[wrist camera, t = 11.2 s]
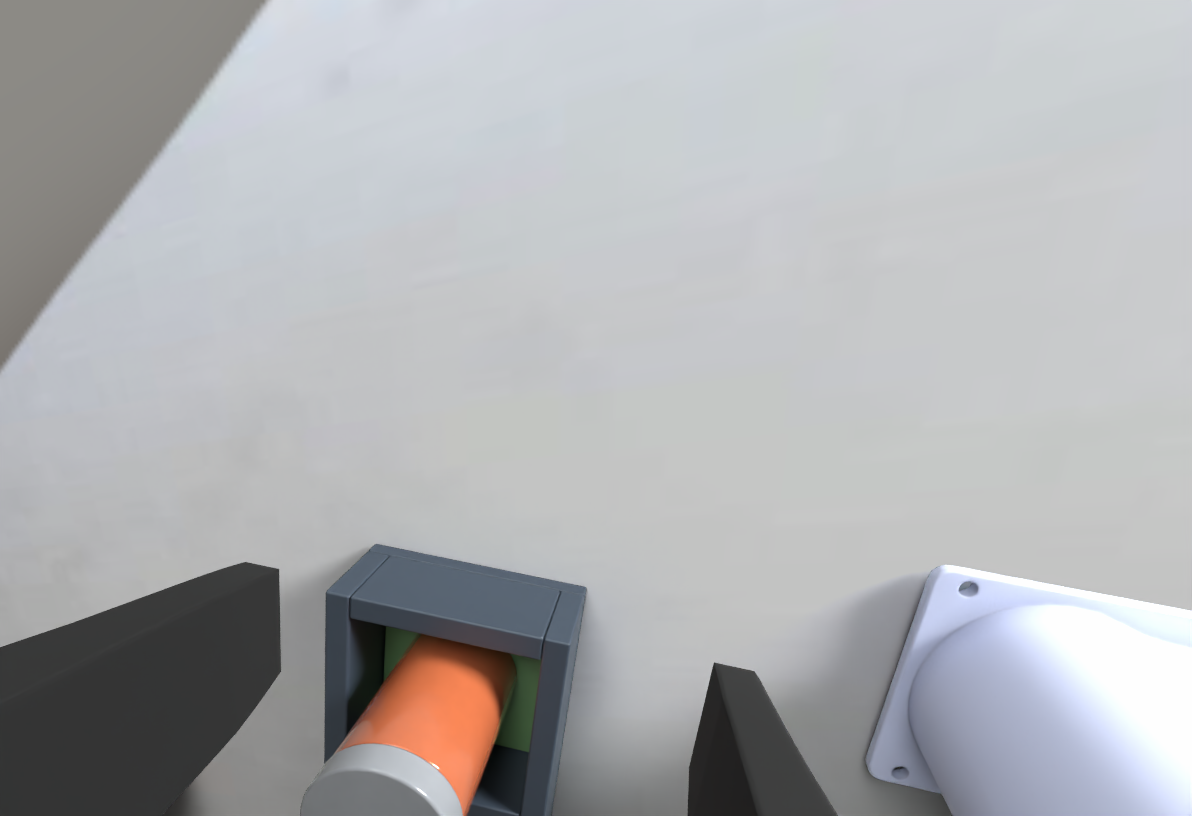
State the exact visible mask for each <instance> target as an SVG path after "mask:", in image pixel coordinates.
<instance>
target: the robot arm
mask: <svg viewBox="0 0 1192 816" xmlns="http://www.w3.org/2000/svg"><path fill="white" fill-rule="evenodd" d="M965 582H971V585H970V586H969V588H967V589H964V590H959V587H960V585H961V584H963V583H965ZM280 672H281V651H280V595H279V569H276V568H271V567H266V566H262V565H257V564H252V563H248V562H244V563H240V564H237V565H233V566H230V567H227V568H224V569H220V570H217V571H215V572H212V573H209V574H206V575H203V576H200V577H197V578H194V579H192V580H189V581H186V582H183V583H180V584H178V585H175V586H172V587H169V588H167V589H164V590H161V591H159V592H156V593H153V594H150V595H148V596H145V597H142V598H140V599H137V600H134V601H131V602H129V603H126V604H123V605H120V606H118V607H115V608H112V609H109V610H107V611H104V612H101V613H98V614H96V615H93V616H90V617H88V618H85V619H82V620H79V621H76V622H74V623H71V624H68V625H65V626H62V627H59V628H56V629H53V630H50V631H47V632H44V633H41V634H38V635H35V636H32V637H29V638H27V639H24V640H21V641H18V642H15V643H12V644H9V645H6V646H3V647H0V816H161V815H162V814H163V813H164V812H165V811H166V810H167V809H168V808H169V807H170V806H171V805H172V803H173V802H174V801H175V800H176V799H177V798H178V797H179V796H180V795H181V794H182V793H183V791H184V790H185V789H186V788H187V787H188V786H189V785H190V784H191V783H192V782H193V781H194V779H195V778H196V777H197V776H198V775H199V774H200V773H201V772H202V771H203V769H204V768H205V767H206V766H207V765H208V764H209V763H210V762H211V761H212V760H213V758H214V757H215V756H216V755H217V754H218V753H219V752H220V751H221V750H222V748H223V747H224V746H225V745H226V744H227V743H228V742H229V740H230V739H231V738H232V737H233V736H234V735H235V734H236V733H237V731H238V730H239V729H240V727H241V726H242V725H243V723H244V722H245V721H246V719H247V718H248V717H249V715H250V714H251V713H252V711H253V710H254V709H255V707H256V706H257V705H258V703H259V702H260V701H261V699H262V698H263V696H264V695H265V693H266V692H267V691H268V689H269V688H270V686H271V685H272V683H273V682H274V681H275V679H276V678H277V676H278V675H279V673H280ZM866 764H867V767H868V770H869V772H870V774H871V775H872V776H873V777H874V778H877V779H879V780H883V781H887V782H891V783H896V784H900V785H904V786H909V787H913V788H918V789H922V790H926V791H931V792H935V793H939V794H942V795H943V797H944V799H945V801H946V803H947V805H948V807H949V810H950V812H951V814H952V816H1192V611H1189V610H1184V609H1179V608H1173V607H1168V606H1163V605H1158V604H1152V603H1147V602H1142V601H1137V600H1131V599H1126V598H1121V597H1116V596H1110V595H1105V594H1100V593H1094V592H1089V591H1084V590H1079V589H1073V588H1068V587H1063V586H1058V585H1052V584H1047V583H1042V582H1037V581H1031V580H1026V579H1021V578H1016V577H1010V576H1005V575H1000V574H995V573H989V572H984V571H979V570H973V569H968V568H963V567H958V566H952V565H942V566H939V567H936V568H935V569H934V570H932V571H931V573H930V574H929V576H928V579H927V581H926V584H925V587H924V590H923V593H922V596H921V599H920V602H919V605H918V608H917V610H916V613H915V616H914V619H913V622H912V625H911V628H910V631H909V634H908V637H907V640H906V642H905V645H904V648H903V651H902V654H901V657H900V660H899V663H898V666H897V669H896V671H895V674H894V677H893V680H892V683H891V686H890V689H889V692H888V695H887V698H886V701H885V703H884V706H883V709H882V712H881V715H880V718H879V721H878V724H877V727H876V730H875V732H874V735H873V738H872V741H871V744H870V747H869V750H868V753H867V756H866ZM896 767H902V768H900V769H894V768H896ZM688 816H838V815H837V813H836V812H835V810H834V808H833V807H832V805H831V804H830V802H829V800H828V799H827V797H826V795H825V794H824V792H823V790H822V789H821V787H820V786H819V784H818V782H817V781H816V779H815V777H814V776H813V774H812V772H811V771H810V769H809V767H808V766H807V764H806V762H805V761H804V759H803V757H802V755H801V754H800V752H799V750H798V748H797V747H796V745H795V743H794V741H793V740H792V738H791V736H790V734H789V732H788V731H787V729H786V727H785V725H784V724H783V722H782V720H781V718H780V716H779V714H778V713H777V711H776V709H775V707H774V705H773V703H772V702H771V700H770V698H769V696H768V694H767V692H766V690H765V688H764V687H763V685H762V683H761V681H760V679H759V678H758V676H757V675H756V673H755V672H754V671H751V670H746V669H741V668H737V667H732V666H727V665H723V664H718V663H714V665H713V669H712V673H711V677H710V682H709V686H708V690H707V694H706V699H705V703H704V707H703V711H702V716H701V720H700V724H699V728H698V732H697V737H696V741H695V745H694V749H693V754H692V758H691V762H690V766H689V791H688Z"/></svg>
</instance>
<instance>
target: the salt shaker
mask: <svg viewBox="0 0 1192 816" xmlns="http://www.w3.org/2000/svg"><path fill="white" fill-rule="evenodd" d="M516 683H517V673H516V667H515V663H514V660H513V658H512V656H511V654H510V653H505V652H501V651H496V650H492V649H487V648H482V647H478V646H473V645H469V644H464V643H460V642H455V641H451V640H446V639H442V638H437V637H433V636H428V635H424V634H419V633H418V634H417V635H416V636H415V638H414V639H413V641H412V642H411V643H410V645H409V646H408V648H407V649H406V651H405V652H404V654H403V655H402V656H401V658H400V659H399V661H398V662H397V664H396V665H395V667H394V668H393V669H392V671H391V672H390V674H389V675H388V677H387V678H386V679H385V681H384V682H383V684H382V685H381V687H380V688H379V690H378V691H377V692H376V694H375V695H374V697H373V698H372V700H371V701H370V703H369V704H368V705H367V707H366V708H365V710H364V711H363V713H362V714H361V716H360V717H359V718H358V720H357V721H356V723H355V724H354V726H353V727H352V728H351V730H350V731H349V733H348V734H347V736H346V737H345V739H344V740H343V741H342V743H341V744H340V746H339V747H338V749H337V750H336V752H335V753H334V754H333V756H332V757H331V758H330V759H329V760H328V761H327V762H326V763H325V764H324V766H323V767H322V768H321V770H320V771H319V773H318V774H317V776H316V777H315V778H314V780H313V781H312V783H311V784H310V786H309V787H308V788H307V790H306V792H305V794H304V796H303V800H302V804H301V809H300V816H467V815H468V812H469V809H470V807H471V804H472V801H473V799H474V796H475V794H476V791H477V788H478V786H479V783H480V780H481V778H482V775H483V772H484V770H485V767H486V765H487V762H488V759H489V757H490V754H491V751H492V749H493V746H494V743H495V741H496V738H497V736H498V733H499V730H500V728H501V725H502V722H503V720H504V717H505V714H506V712H507V709H508V707H509V704H510V701H511V699H512V696H513V693H514V691H515V688H516Z"/></svg>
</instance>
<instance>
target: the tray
mask: <svg viewBox="0 0 1192 816" xmlns="http://www.w3.org/2000/svg"><path fill="white" fill-rule="evenodd" d="M585 595H586V587H583V586H578V585H573V584H568V583H563V582H558V581H554V580H549V579H544V578H539V577H534V576H529V575H524V574H520V573H515V572H510V571H505V570H500V569H495V568H490V567H486V566H481V565H476V564H471V563H466V562H461V561H457V560H452V559H447V558H442V557H437V556H432V555H427V554H423V553H418V552H413V551H408V550H403V549H398V548H394V547H389V546H384V545H379V544H375V545H374V546H373V547H372V548H371V549H370V550H369V552H367V553H366V554H365V555H364V556H363V557H362V558H361V559H360V560H359V561H358V562H357V563H355V564H354V565H353V566H352V567H351V568H350V569H349V570H348V571H347V572H346V573H345V574H344V575H343V576H342V577H341V578H340V579H339V580H338V581H336V582H335V583H334V584H333V585H332V586H331V587H330V588H329V589H328V590H327V592H326V628H325V753H324V764H325V763H326V762H327V761H328V760H329V759H330V758H331V757H332V756H333V754H334V753H335V752H336V750H337V749H338V747H339V746H340V744H341V743H342V741H343V740H344V739H345V737H346V736H347V734H348V733H349V731H350V730H351V728H352V727H353V726H354V724H355V723H356V721H357V720H358V718H359V717H360V716H361V714H362V713H363V711H364V710H365V708H366V707H367V705H368V704H369V703H370V701H371V700H372V698H373V697H374V695H375V694H376V692H377V691H378V690H379V688H380V687H381V685H382V684H383V682H384V681H385V679H386V678H387V677H388V675H389V674H390V672H391V671H392V669H393V668H394V667H395V665H396V664H397V662H398V661H399V659H400V658H401V656H402V655H403V654H404V652H405V651H406V649H407V648H408V646H409V645H410V643H411V642H412V641H413V639H414V638H415V636H416V635H417V634H418V633H419V634H424V635H428V636H433V637H437V638H442V639H446V640H451V641H455V642H460V643H464V644H469V645H473V646H478V647H482V648H487V649H492V650H496V651H501V652H505V653H510V654H511V656H512V658H513V660H514V663H515V667H516V673H517V683H516V688H515V691H514V693H513V696H512V699H511V701H510V704H509V707H508V709H507V712H506V714H505V717H504V720H503V722H502V725H501V728H500V730H499V733H498V736H497V738H496V741H495V743H494V746H493V749H492V751H491V754H490V757H489V759H488V762H487V765H486V767H485V770H484V772H483V775H482V778H481V780H480V783H479V786H478V788H477V791H476V794H475V796H474V799H473V801H472V804H471V807H470V809H469V812H468V815H467V816H551V815H552V808H553V802H554V795H555V789H556V782H557V776H558V770H559V763H560V757H561V750H562V744H563V737H564V731H565V724H566V718H567V711H568V705H569V698H570V692H571V685H572V679H573V672H574V666H575V660H576V653H577V647H578V640H579V634H580V627H581V621H582V614H583V608H584V601H585Z"/></svg>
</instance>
